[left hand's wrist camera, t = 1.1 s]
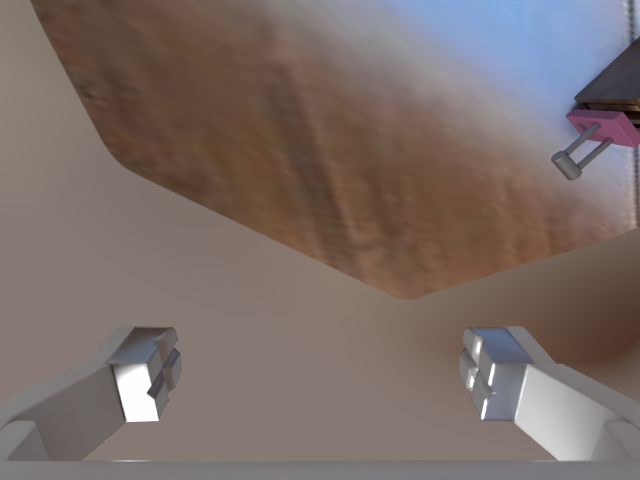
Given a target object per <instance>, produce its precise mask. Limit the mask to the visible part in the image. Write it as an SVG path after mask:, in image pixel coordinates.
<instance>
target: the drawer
mask: <svg viewBox="0 0 640 480" xmlns="http://www.w3.org/2000/svg"><path fill="white" fill-rule="evenodd" d="M587 105H588V106H589V108H590V109H591V110H581V109H573V110H572V111H571V112H569V113H568V114H567V115H566V117H567V118H568V119H569V121H570V122H571V123H572V124H573V125H574V127H575V128H576V129H577V130H578V131H579V133H580V134H581V136H580V137H579V138H578V139H577V140H576V141H574V142H573V143H572V144H571V145H570V146H569V147H568V148H567V149H566V150H564V151H559V152H557V153H556V154H555V155H553V157H552V158H551V161H552V162H553V163H554V164H555V165H556V166H557V168H558V169H559V170H560V171H561V172H562V173H563V174H564V176H565V177H566V178H567V179H568V180H574V179H576V178H578V177H579V176H580V175H581V174H582V170H581V169H582V168H584V167H585V166H586V165H587V164H588V163H589V162H590V161H592V160H593V159H594V158H595V157H596V156H597V155H599V154H600V153H601V152H602V151H603V150H604V149H605V148H607V147H608V146H609V145H610V144H617V145H623V146H629V147H637V146H638V145H639V144H640V133H639V132H638V131H637V129H636V128H635V127H634V125H633V124H640V110H639V108H638V107H637V106H636V104H614V103H588V104H587ZM585 140H593V141H599V142H602V143H601V144H600V145H599V146H598V147H596V148H595V149H594V150H593V151H592V152H591V153H590V154H588V155H587V156H586V157H585V158H584V159H583V160H582V161H580V162H579V163H578V164H577V165H576V163H575V162H574V161H573V160H572V159H571V158H570V156H569V155H570V154H571V153H572V152H573V151H574V150H575V149H576V148H578V147H579V146H580V145H581V144H582V143H583V142H584V141H585Z"/></svg>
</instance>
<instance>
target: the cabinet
mask: <svg viewBox="0 0 640 480" xmlns="http://www.w3.org/2000/svg"><path fill="white" fill-rule="evenodd" d="M574 99H575V100H576V101H577V102H578V104H579V105H580V106H581V107H582V108H583V110H591V109H590V108H589V106H588V105H587V104H588V103H614V104H636V106H637V107H638V108H639V110H640V37H639V38H638V39H637V40H636V41H635V42H634V43H633V44H631V45H630V46H629V47H628V48H627V49H626V50H625V51H624V52H623V53H622V54H621V55H620V56H619V57H618V58H616V59H615V60H614V61H613V62H612V63H611V64H610V65H609V66H608V67H607V68H606V69H605V70H604V71H603V72H602V73H600V74H599V75H598V76H597V77H596V78H595V79H594V80H593V81H592V82H591V83H590V84H589V85H588V86H587V87H585V88H584V89H583V90H582V91H581V92H580V93H579V94H578V95H577V96H576V97H575V98H574ZM633 125H634V127H635V128H636V129H637V131H638V132H639V133H640V124H633Z"/></svg>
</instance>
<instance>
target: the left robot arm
mask: <svg viewBox="0 0 640 480" xmlns="http://www.w3.org/2000/svg"><path fill="white" fill-rule="evenodd" d="M177 341H178V338H177V334H176V330H175V329H174V328H173V327H140V326H138V327H136V326H120V327H117V328H115V329H114V330H113V331H112V333H111V334H110V335H109V336H108V337H107V338H106V339H105V340H104V342H103V343H102V344H101V345H100V346H99V347H98V348H97V350H96V351H95V352H94V353H93V354H92V355H91V356H90V358H89V359H88V360H87V361H86V362H85V363H84V364H77V365H75V366H73V367H71V368H69V369H67V370H65V371H63V372H61V373H59V374H57V375H55V376H53V377H51V378H49V379H47V380H45V381H43V382H41V383H39V384H37V385H35V386H33V387H31V388H29V389H27V390H25V391H23V392H21V393H19V394H17V395H15V396H13V397H11V398H9V399H7V400H5V401H3V402H1V403H0V480H640V403H639V402H637V401H635V400H633V399H631V398H629V397H627V396H625V395H623V394H621V393H619V392H617V391H615V390H613V389H611V388H609V387H607V386H605V385H603V384H601V383H599V382H597V381H595V380H593V379H591V378H589V377H587V376H585V375H583V374H581V373H579V372H577V371H575V370H573V369H571V368H569V367H567V366H565V365H563V364H556V363H555V362H554V361H553V360H552V359H551V357H550V356H549V355H548V354H547V353H546V352H545V351H544V349H543V348H542V347H541V346H540V345H539V344H538V343H537V342H536V340H535V339H534V338H533V337H532V336H531V335H530V334H529V333H528V331H527V330H526V329H525V328H523V327H521V326H510V327H476V328H466V329H465V331H464V333H463V338H462V341H463V342H464V344H465V346H466V348H465V349H464V350H463V351H462V352H461V353H460V356H459V373H460V377H461V380H462V383H463V385H464V387H465V388H466V389H468V390H469V391H470V392H472V393H473V394H472V399H471V401H472V403H473V405H474V407H475V409H476V411H477V413H478V415H479V417H480V419H481V420H482V421H511V422H515V424H516V425H517V426H519V427H520V428H521V429H522V430H523V431H525V432H526V433H527V434H528V435H529V436H530V437H532V438H533V439H534V440H535V441H536V442H538V443H539V444H540V445H541V446H542V447H544V448H545V449H546V450H547V451H548V452H549V453H551V454H552V455H553V456H554V457H555V458H557V459H558V460H556V461H555V460H554V461H553V460H551V461H384V460H381V461H378V460H377V461H376V460H375V461H374V460H372V461H371V460H368V461H367V460H366V461H365V460H364V461H362V460H359V461H81V460H82V459H83V458H85V457H86V456H87V455H88V454H90V453H91V452H92V451H93V450H94V449H95V448H97V447H98V446H99V445H100V444H101V443H103V442H104V441H105V440H106V439H107V438H109V437H110V436H111V435H112V434H113V433H114V432H116V431H117V430H118V429H119V428H120V427H122V426H123V425H124V424H125V422H129V421H158V420H159V419H160V417H161V415H162V413H163V411H164V409H165V407H166V405H167V403H168V401H169V399H168V394H167V393H168V392H170V391H171V390H173V389H174V388H175V387H176V385H177V383H178V380H179V377H180V372H181V356H180V353H179V352H178V351H177V350H176V349H175V348H174V346H175V344H176V342H177Z"/></svg>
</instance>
